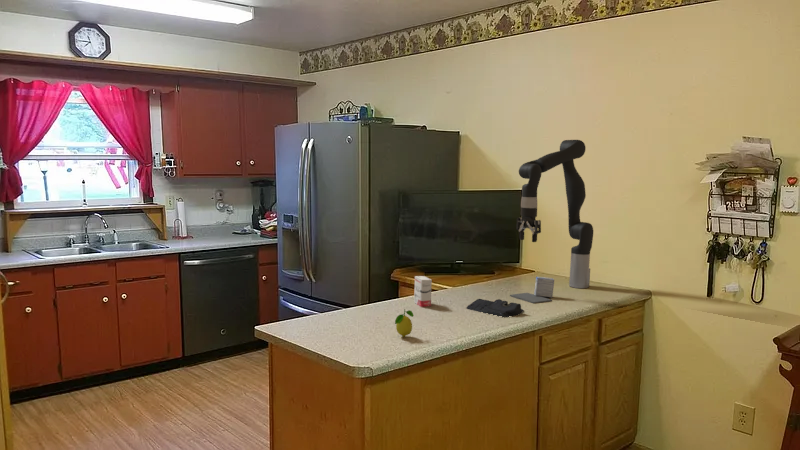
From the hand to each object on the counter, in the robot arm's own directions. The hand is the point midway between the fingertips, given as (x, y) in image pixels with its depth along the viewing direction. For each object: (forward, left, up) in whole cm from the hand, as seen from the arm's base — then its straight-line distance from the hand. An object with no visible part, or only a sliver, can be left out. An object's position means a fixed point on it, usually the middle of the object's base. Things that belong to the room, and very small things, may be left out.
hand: (527, 240), depth 271 cm
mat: (+3, +7, -26) cm, 27 cm away
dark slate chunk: (+33, +17, -26) cm, 46 cm away
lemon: (+86, +33, -26) cm, 96 cm away
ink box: (+55, -4, -26) cm, 61 cm away
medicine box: (-4, +7, -26) cm, 27 cm away
